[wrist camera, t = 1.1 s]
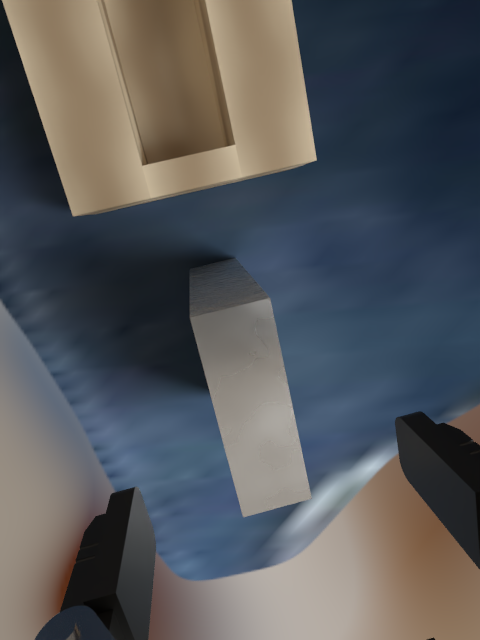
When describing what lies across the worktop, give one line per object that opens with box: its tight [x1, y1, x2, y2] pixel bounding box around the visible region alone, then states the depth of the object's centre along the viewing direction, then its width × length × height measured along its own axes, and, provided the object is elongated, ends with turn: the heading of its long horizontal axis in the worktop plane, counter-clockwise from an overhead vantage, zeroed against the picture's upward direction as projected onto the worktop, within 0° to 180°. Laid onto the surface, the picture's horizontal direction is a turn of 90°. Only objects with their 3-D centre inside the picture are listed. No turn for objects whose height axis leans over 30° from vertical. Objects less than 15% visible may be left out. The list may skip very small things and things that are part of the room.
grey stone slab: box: [190, 258, 312, 517], centre depth 22 cm, size 3×9×12 cm, turn 13°
